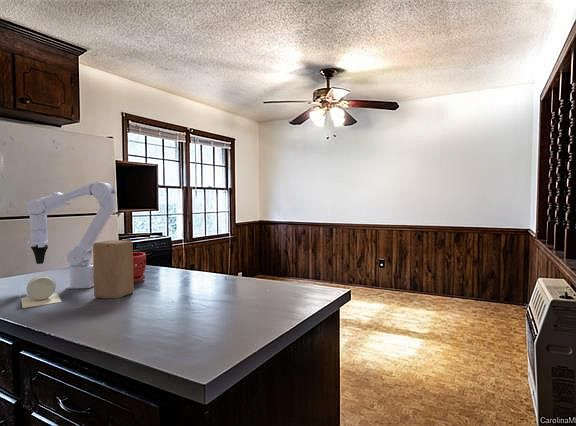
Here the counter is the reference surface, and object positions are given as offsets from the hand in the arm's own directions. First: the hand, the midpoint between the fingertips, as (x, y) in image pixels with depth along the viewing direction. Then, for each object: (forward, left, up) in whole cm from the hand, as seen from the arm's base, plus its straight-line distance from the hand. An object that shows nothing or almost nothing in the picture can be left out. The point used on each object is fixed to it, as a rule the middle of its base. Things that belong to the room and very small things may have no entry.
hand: (39, 263), depth 147 cm
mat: (-12, +19, -10) cm, 24 cm away
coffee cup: (-6, +11, -6) cm, 14 cm away
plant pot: (-32, -10, -10) cm, 35 cm away
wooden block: (-35, +13, -10) cm, 38 cm away
